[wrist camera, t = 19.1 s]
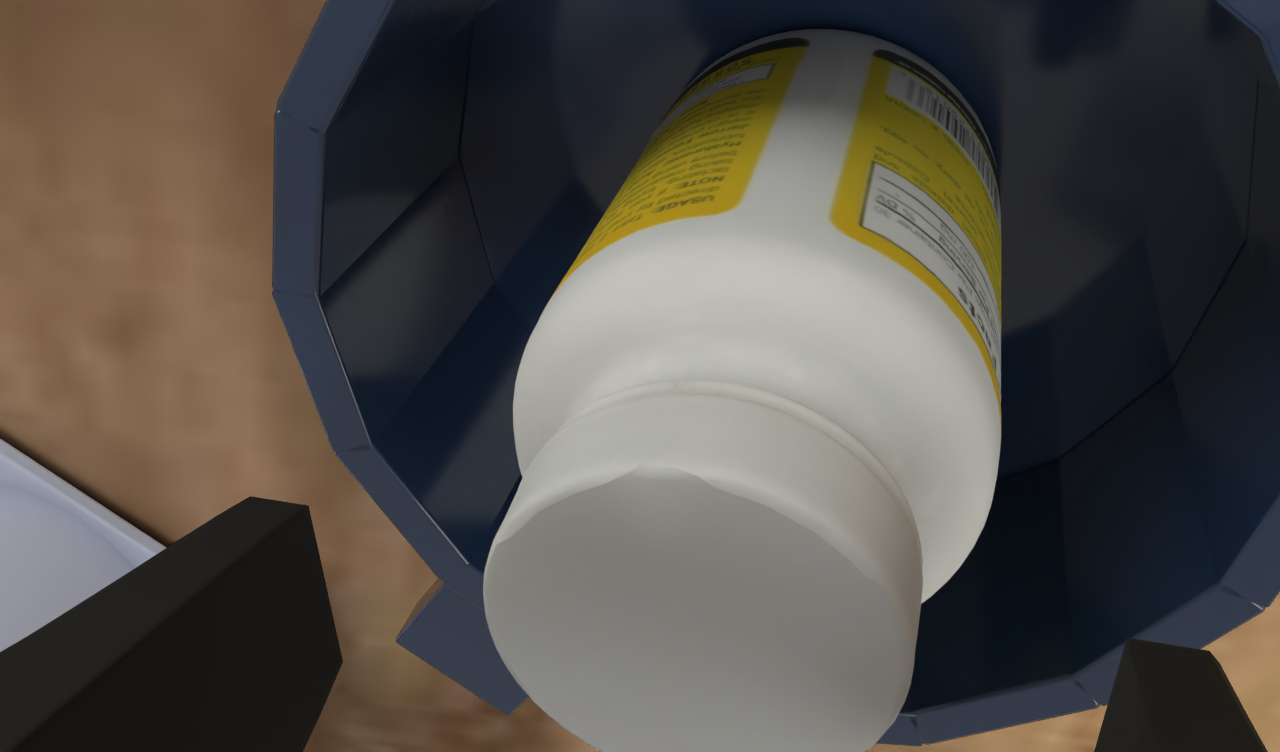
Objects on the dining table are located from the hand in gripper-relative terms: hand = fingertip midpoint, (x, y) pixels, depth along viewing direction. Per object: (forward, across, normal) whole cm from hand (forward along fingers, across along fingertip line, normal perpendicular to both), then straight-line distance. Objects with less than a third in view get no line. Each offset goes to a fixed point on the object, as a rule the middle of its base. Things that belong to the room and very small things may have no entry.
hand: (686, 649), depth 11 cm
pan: (+10, 0, 0) cm, 10 cm away
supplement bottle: (+10, 0, 0) cm, 10 cm away
